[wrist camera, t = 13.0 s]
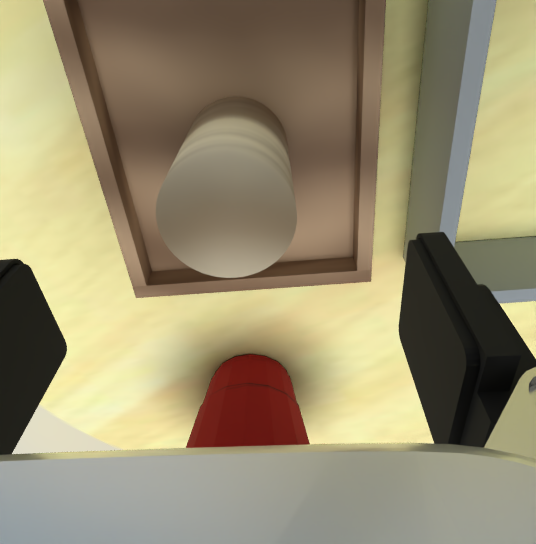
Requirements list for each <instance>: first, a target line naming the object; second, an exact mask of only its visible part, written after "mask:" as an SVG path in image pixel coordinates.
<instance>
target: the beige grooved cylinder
mask: <svg viewBox="0 0 536 544" xmlns="http://www.w3.org/2000/svg"><path fill="white" fill-rule="evenodd" d="M156 221H157V226H158V229H159V232H160V234H161V237H162V239H163V241H164V242H165V244H166V245H167V247H168V248H169V249H170V251H171V252H172V253H173V254H174V255H175V256H176V257H177V258H178V259H179V260H180V261H182V262H183V263H184V264H186V265H187V266H189V267H191V268H192V269H194V270H196V271H199V272H201V273H204V274H207V275H210V276H215V277H223V278H237V277H244V276H249V275H252V274H255V273H258V272H260V271H262V270H264V269H266V268H268V267H269V266H271V265H272V264H274V263H275V262H276V261H277V260H278V259H279V258H280V257H281V256H282V255H283V254H284V253H285V252H286V250H287V249H288V247H289V246H290V244H291V242H292V239H293V237H294V234H295V231H296V225H297V210H296V202H295V195H294V188H293V181H292V174H291V167H290V160H289V153H288V146H287V139H286V134H285V131H284V128H283V126H282V124H281V122H280V121H279V119H278V118H277V116H276V115H275V114H274V113H273V112H272V111H271V110H270V109H269V108H268V107H266V106H265V105H263V104H262V103H260V102H258V101H256V100H253V99H250V98H246V97H239V96H237V97H226V98H222V99H219V100H217V101H215V102H213V103H211V104H209V105H208V106H206V107H205V108H204V109H203V110H202V111H201V112H200V113H199V115H198V116H197V117H196V119H195V120H194V122H193V124H192V126H191V128H190V130H189V132H188V134H187V136H186V138H185V140H184V142H183V144H182V146H181V148H180V150H179V152H178V154H177V156H176V158H175V160H174V162H173V164H172V166H171V168H170V170H169V172H168V174H167V176H166V178H165V180H164V182H163V184H162V186H161V188H160V190H159V193H158V197H157V201H156Z"/></svg>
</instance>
